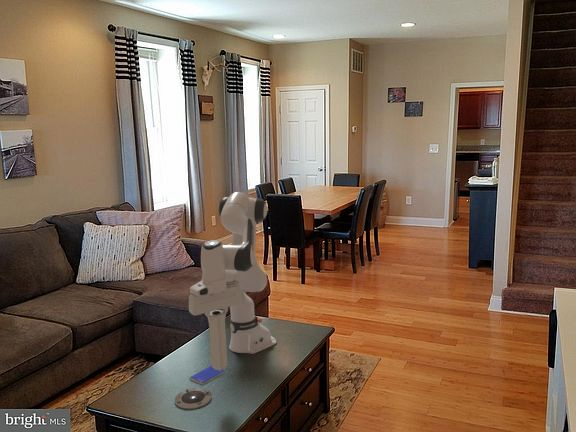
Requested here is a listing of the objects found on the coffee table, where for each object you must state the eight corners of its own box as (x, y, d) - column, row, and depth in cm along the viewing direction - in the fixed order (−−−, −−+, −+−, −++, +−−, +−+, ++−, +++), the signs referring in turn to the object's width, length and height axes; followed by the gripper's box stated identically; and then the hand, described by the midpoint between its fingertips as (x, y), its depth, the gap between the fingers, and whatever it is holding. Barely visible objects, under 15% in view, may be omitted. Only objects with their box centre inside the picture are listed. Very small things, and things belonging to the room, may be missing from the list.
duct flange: (202, 386, 204) (202, 383, 204) (217, 401, 192) (217, 398, 192) (169, 397, 197) (169, 394, 196) (183, 413, 185) (182, 410, 185)
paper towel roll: (216, 361, 195) (213, 308, 191) (230, 363, 193) (227, 310, 189) (206, 369, 189) (203, 315, 185) (220, 372, 186) (217, 317, 183)
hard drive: (202, 382, 205) (224, 370, 214) (189, 377, 210) (210, 365, 219) (202, 386, 205) (224, 373, 215) (189, 380, 210) (210, 368, 220)
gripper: (235, 277, 194) (237, 311, 196) (185, 288, 182) (188, 324, 185) (243, 281, 188) (245, 316, 191) (192, 293, 177) (195, 330, 180)
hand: (217, 320), depth 188 cm, fingers closed on paper towel roll, 4 cm apart
